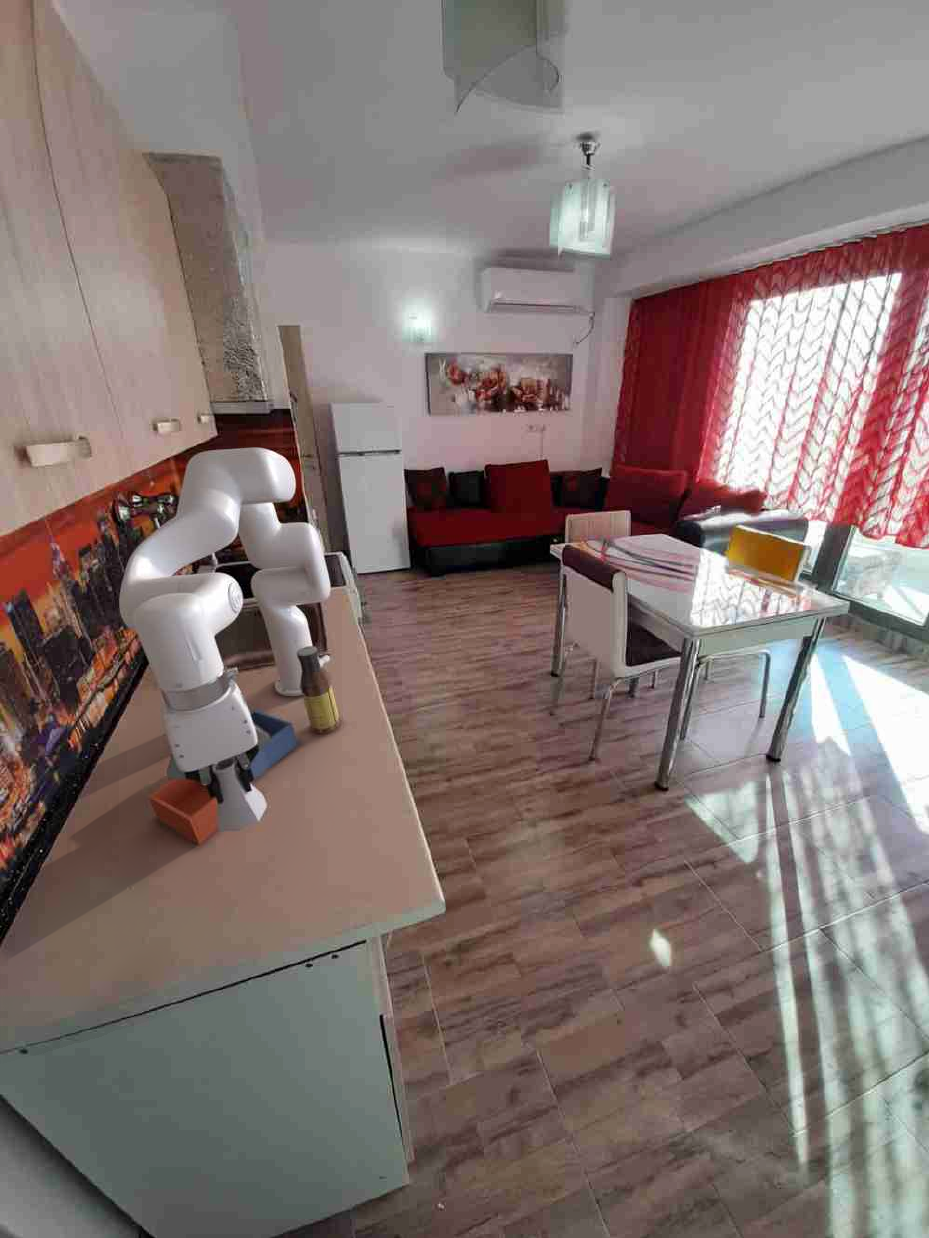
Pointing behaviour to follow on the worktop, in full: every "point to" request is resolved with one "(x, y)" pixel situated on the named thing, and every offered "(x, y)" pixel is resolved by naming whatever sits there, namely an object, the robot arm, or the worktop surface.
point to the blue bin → (271, 741)
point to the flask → (236, 799)
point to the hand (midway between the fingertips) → (233, 790)
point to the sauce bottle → (317, 692)
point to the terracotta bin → (186, 808)
